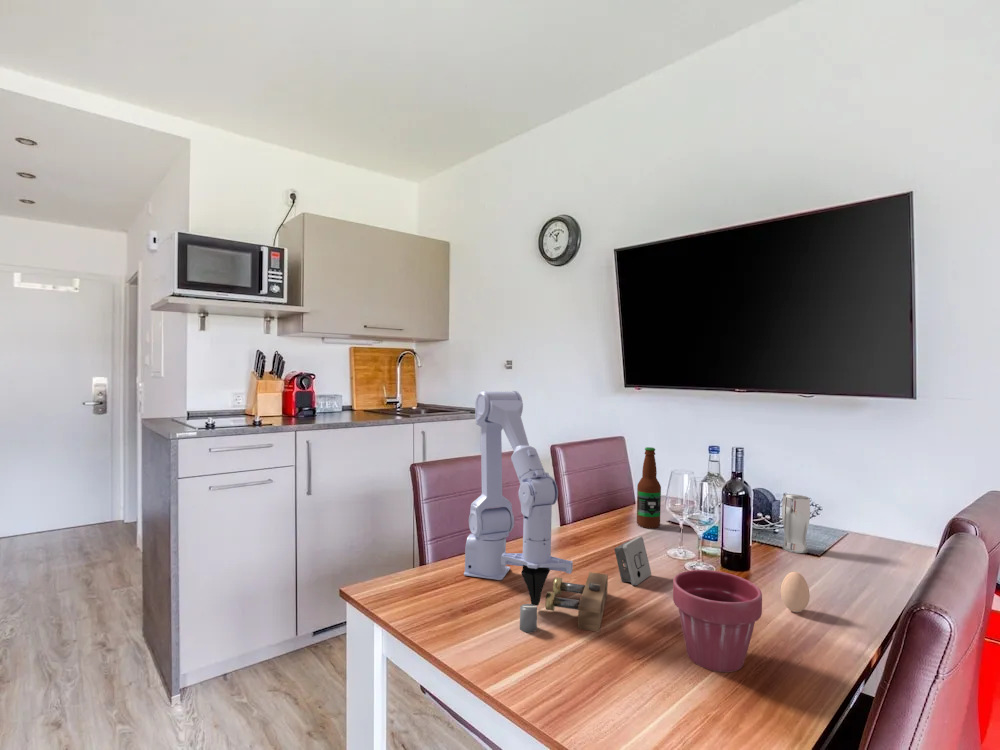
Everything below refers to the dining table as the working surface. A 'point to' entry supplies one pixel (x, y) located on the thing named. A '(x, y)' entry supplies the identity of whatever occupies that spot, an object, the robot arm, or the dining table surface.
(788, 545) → the beer glass
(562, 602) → the near plunger
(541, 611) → the dining table surface
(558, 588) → the far plunger
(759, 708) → the dining table surface
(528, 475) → the robot arm
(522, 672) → the dining table surface
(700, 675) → the dining table surface
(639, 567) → the electrical switch
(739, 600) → the plant pot
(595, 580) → the wooden board with knobs
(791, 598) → the egg
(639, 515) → the bottle
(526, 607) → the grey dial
